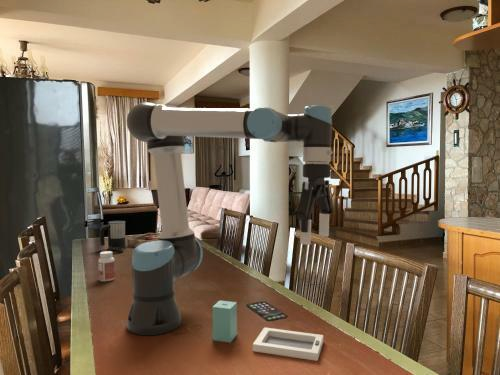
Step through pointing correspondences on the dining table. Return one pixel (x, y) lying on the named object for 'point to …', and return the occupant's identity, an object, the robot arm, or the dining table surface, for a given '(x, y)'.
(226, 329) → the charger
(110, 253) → the pill bottle
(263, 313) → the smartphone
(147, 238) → the decorative book
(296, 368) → the dining table surface
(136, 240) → the book tray
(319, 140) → the robot arm
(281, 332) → the white shallow tray
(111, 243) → the milk frother
